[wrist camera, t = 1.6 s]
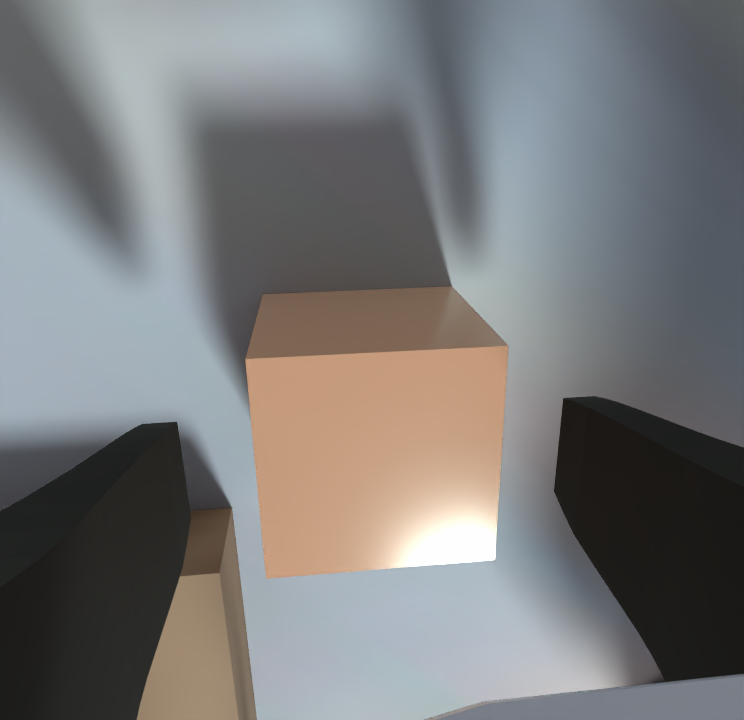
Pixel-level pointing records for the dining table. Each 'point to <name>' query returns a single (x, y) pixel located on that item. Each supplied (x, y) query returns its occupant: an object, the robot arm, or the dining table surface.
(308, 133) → the dining table surface
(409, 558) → the terracotta cube
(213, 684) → the walnut slab
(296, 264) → the dining table surface
